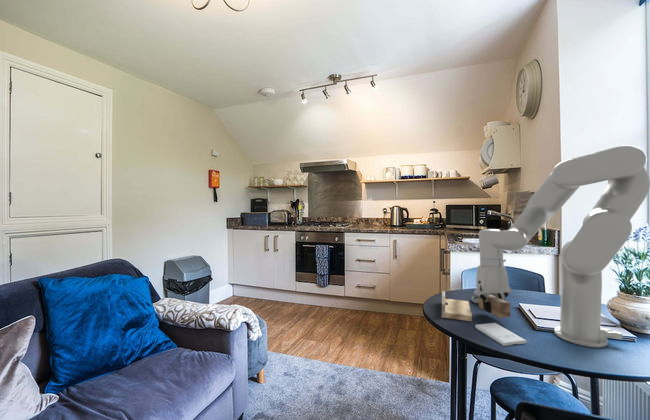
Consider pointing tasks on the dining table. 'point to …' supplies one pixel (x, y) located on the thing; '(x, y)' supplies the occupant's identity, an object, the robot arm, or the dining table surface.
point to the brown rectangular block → (497, 306)
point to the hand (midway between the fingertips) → (493, 310)
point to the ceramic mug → (478, 299)
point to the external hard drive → (500, 334)
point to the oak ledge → (455, 309)
